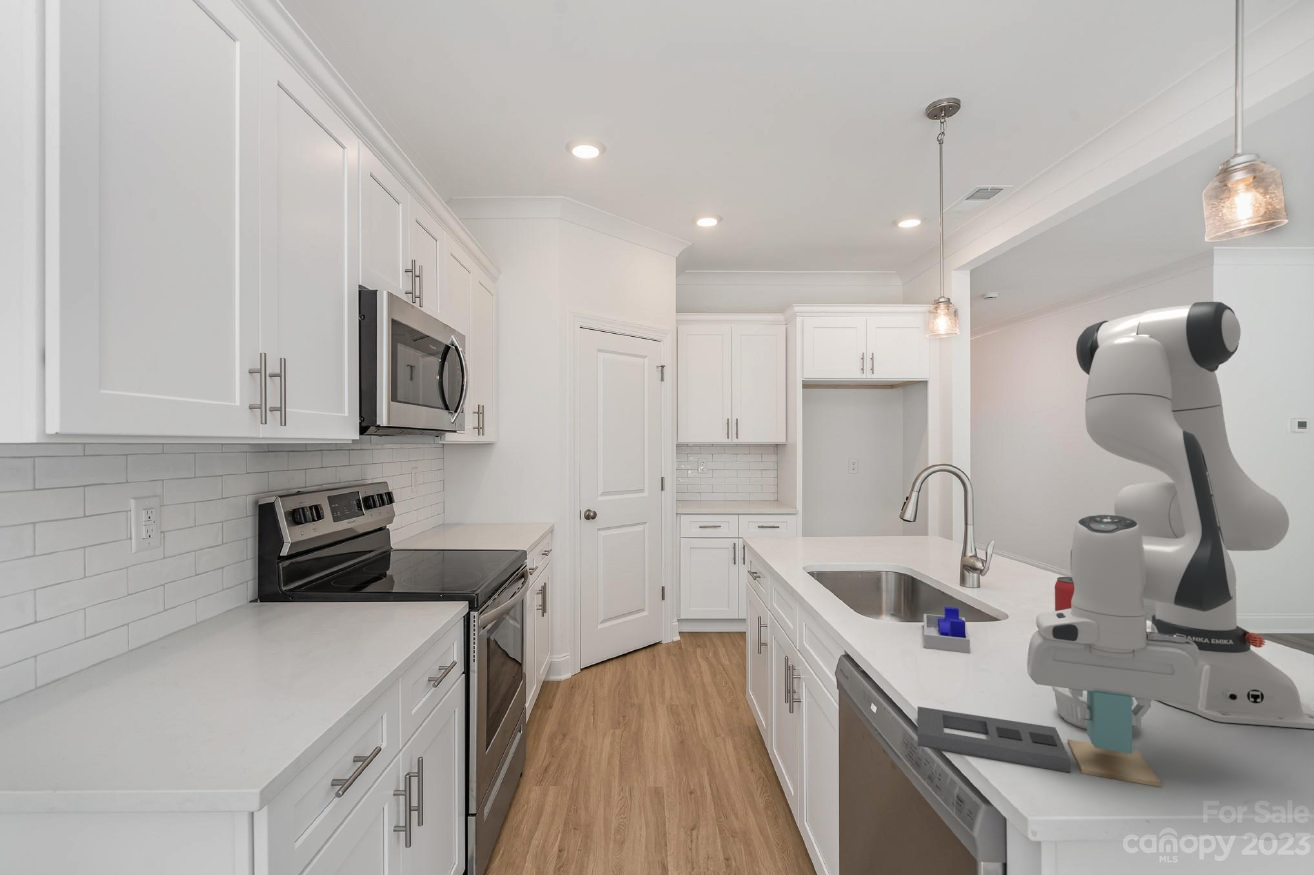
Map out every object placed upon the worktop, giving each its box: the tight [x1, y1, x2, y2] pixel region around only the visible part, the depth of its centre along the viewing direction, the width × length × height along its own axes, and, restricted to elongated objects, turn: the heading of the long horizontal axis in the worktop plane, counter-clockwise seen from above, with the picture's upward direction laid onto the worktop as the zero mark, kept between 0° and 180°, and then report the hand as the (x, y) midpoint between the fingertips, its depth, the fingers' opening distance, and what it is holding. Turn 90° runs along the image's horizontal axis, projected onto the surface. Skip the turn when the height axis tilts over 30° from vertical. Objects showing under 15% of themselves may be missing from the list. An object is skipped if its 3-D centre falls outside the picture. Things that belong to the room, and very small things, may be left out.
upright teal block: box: [1086, 691, 1133, 754], centre depth 88 cm, size 4×4×8 cm
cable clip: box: [937, 606, 966, 638], centre depth 143 cm, size 12×4×6 cm, turn 161°
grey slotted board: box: [917, 706, 1071, 774], centre depth 94 cm, size 20×10×2 cm, turn 67°
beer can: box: [1054, 576, 1074, 611], centre depth 150 cm, size 7×7×12 cm
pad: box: [1066, 739, 1162, 788], centre depth 88 cm, size 9×9×1 cm
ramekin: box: [1051, 686, 1135, 730], centre depth 101 cm, size 11×11×5 cm
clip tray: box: [923, 613, 971, 654], centre depth 143 cm, size 9×17×3 cm, turn 156°
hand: (1108, 722), depth 88 cm, fingers closed on upright teal block, 4 cm apart
